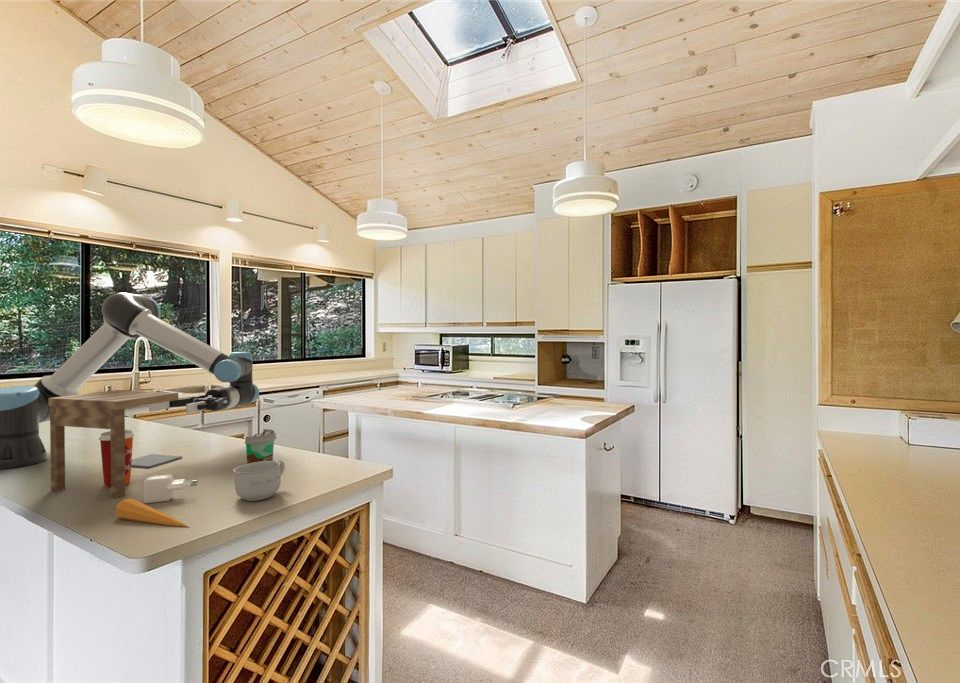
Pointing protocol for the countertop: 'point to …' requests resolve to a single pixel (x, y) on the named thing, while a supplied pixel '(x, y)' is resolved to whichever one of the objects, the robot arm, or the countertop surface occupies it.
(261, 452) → the food container
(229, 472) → the countertop surface
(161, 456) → the slate mat
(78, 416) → the canopy shelf
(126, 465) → the paper cup
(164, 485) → the power adapter
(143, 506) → the carrot
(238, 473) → the teacup
